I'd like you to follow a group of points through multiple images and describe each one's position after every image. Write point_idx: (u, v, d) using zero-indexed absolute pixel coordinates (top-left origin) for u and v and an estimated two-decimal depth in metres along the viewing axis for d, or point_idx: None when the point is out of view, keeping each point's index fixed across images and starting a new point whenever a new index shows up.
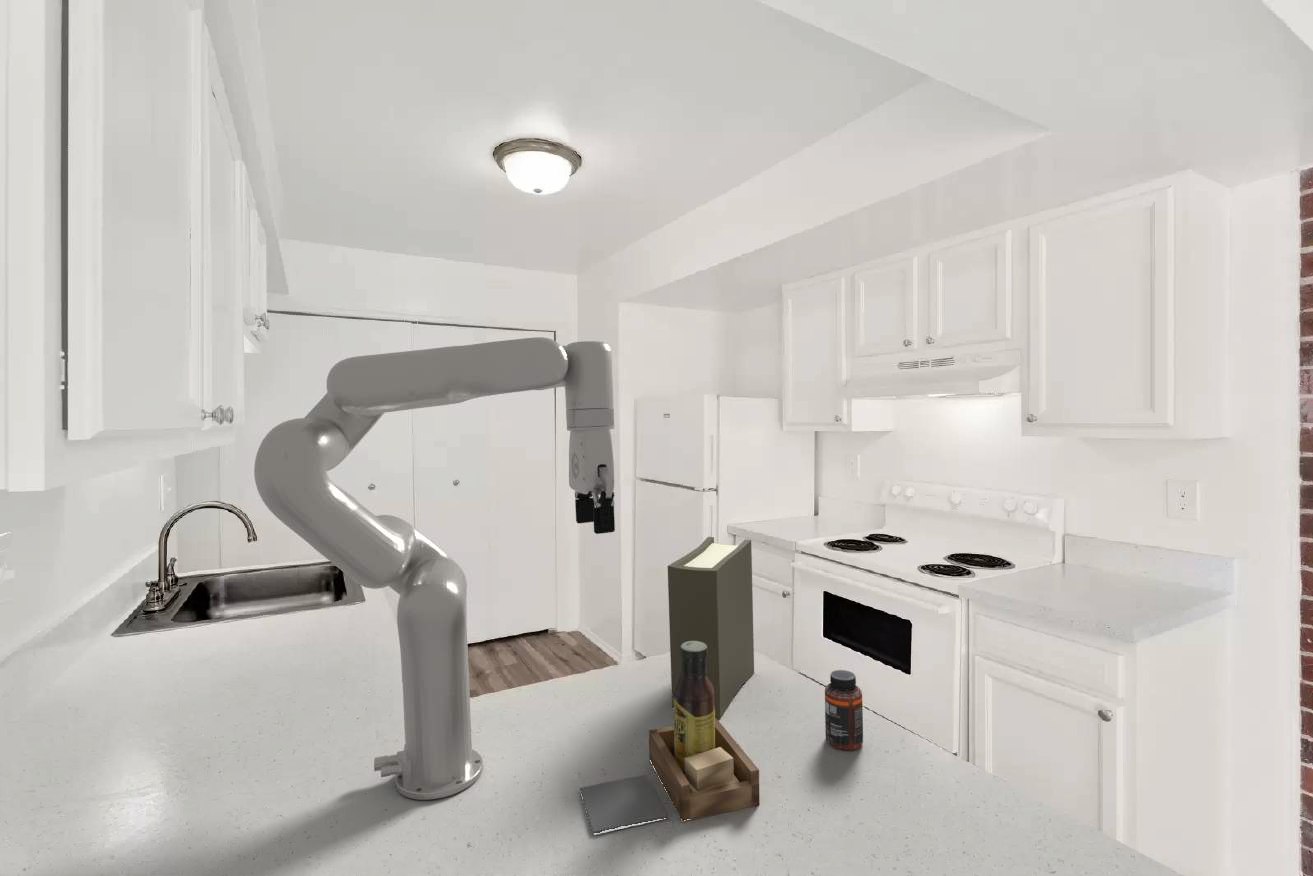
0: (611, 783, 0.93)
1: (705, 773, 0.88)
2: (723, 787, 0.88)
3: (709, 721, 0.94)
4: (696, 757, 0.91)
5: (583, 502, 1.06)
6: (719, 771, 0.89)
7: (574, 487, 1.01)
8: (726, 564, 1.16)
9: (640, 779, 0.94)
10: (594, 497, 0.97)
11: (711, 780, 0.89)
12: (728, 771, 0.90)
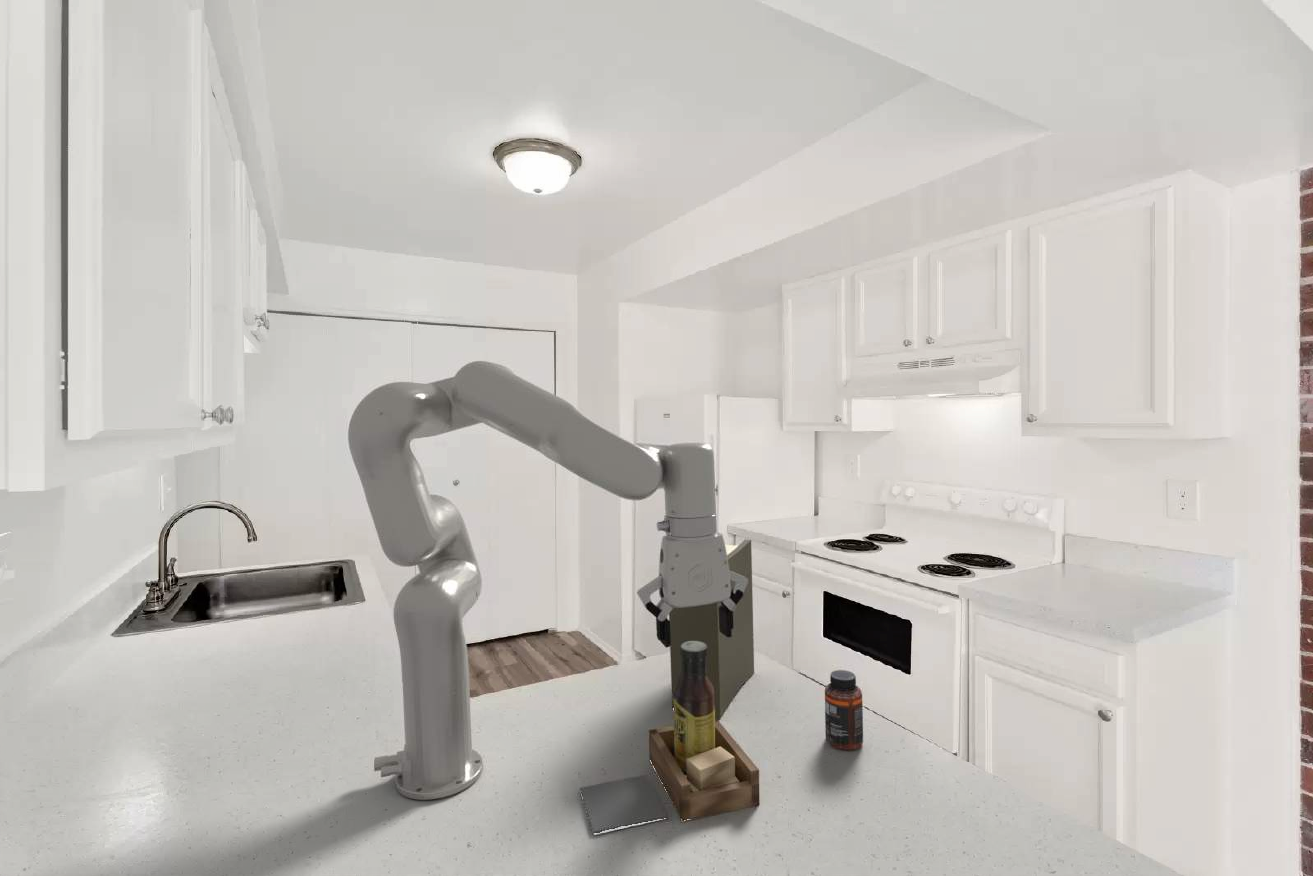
0: (611, 783, 0.93)
1: (708, 773, 0.88)
2: (723, 787, 0.88)
3: (709, 721, 0.94)
4: (697, 757, 0.91)
5: None
6: (721, 770, 0.89)
7: (695, 602, 0.92)
8: None
9: (640, 779, 0.94)
10: (728, 600, 0.95)
11: (713, 780, 0.89)
12: (730, 770, 0.90)
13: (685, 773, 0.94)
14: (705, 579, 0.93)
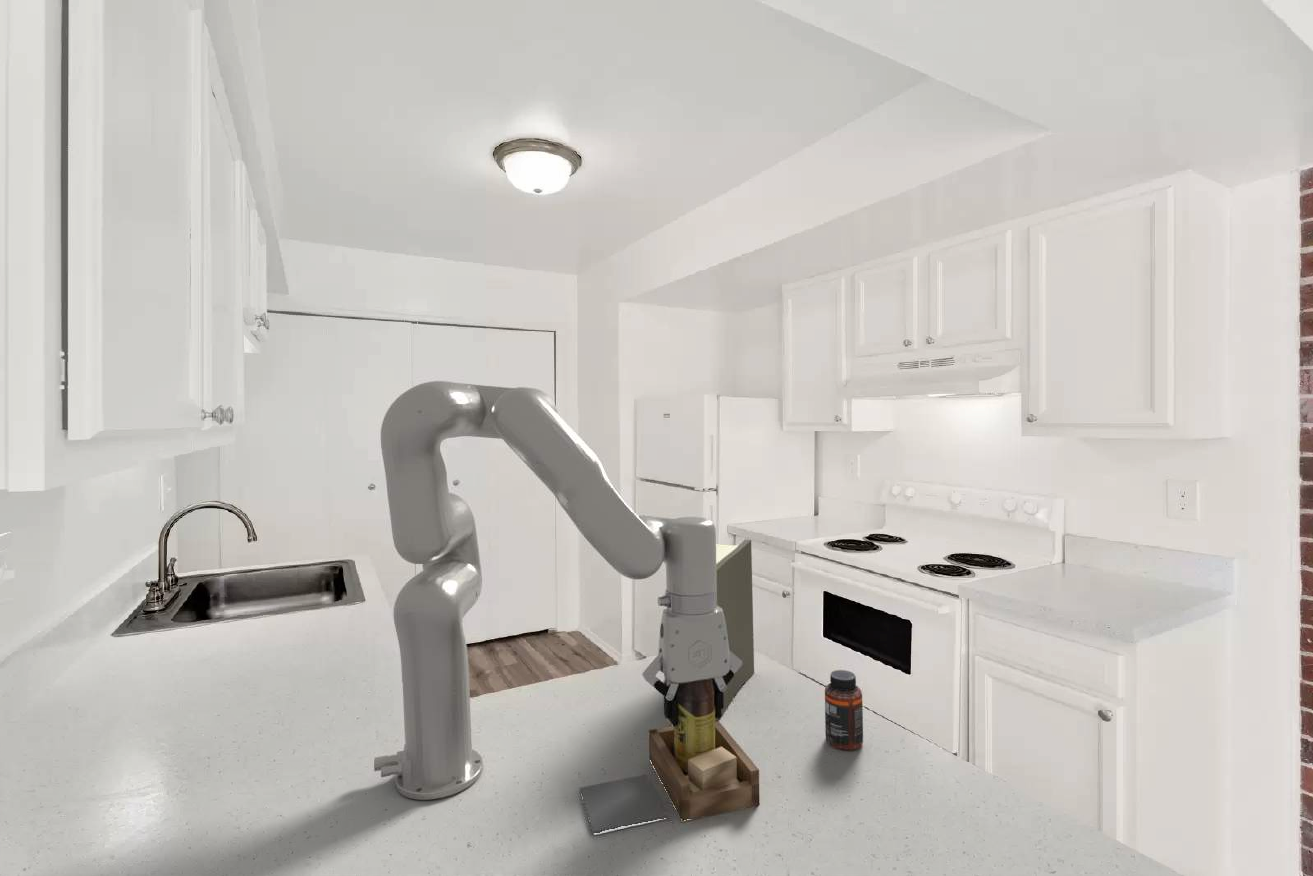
0: (611, 783, 0.93)
1: (710, 773, 0.88)
2: (723, 787, 0.88)
3: (709, 721, 0.94)
4: (699, 758, 0.90)
5: None
6: (723, 771, 0.89)
7: (694, 678, 0.93)
8: (726, 564, 1.16)
9: (640, 779, 0.94)
10: (720, 680, 0.96)
11: (715, 780, 0.89)
12: (731, 770, 0.90)
13: (685, 773, 0.94)
14: (704, 655, 0.93)
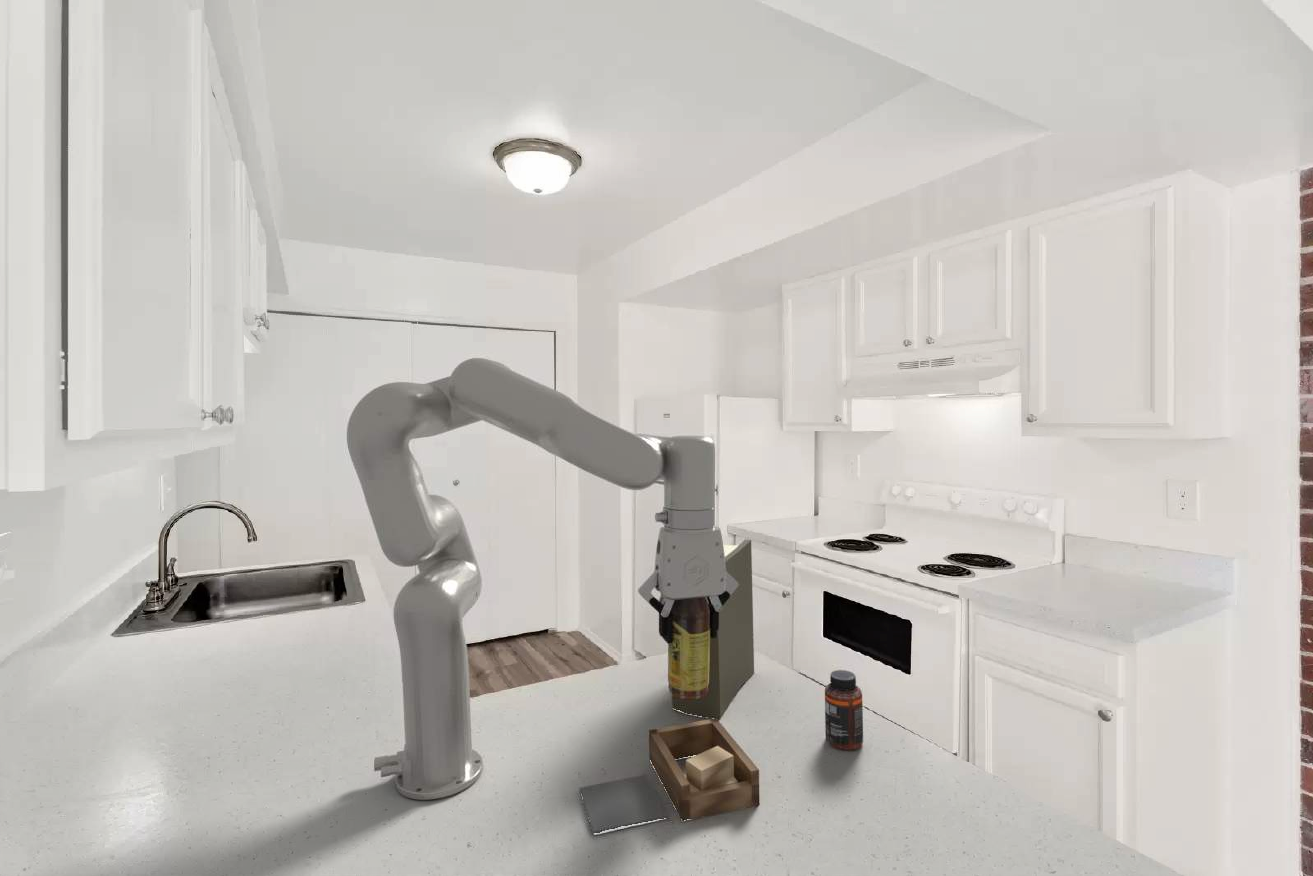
0: (611, 783, 0.93)
1: (709, 773, 0.88)
2: (723, 787, 0.88)
3: (704, 640, 0.93)
4: (697, 758, 0.90)
5: None
6: (721, 770, 0.89)
7: (690, 595, 0.92)
8: (726, 564, 1.16)
9: (640, 779, 0.94)
10: (716, 600, 0.95)
11: (714, 780, 0.89)
12: (729, 769, 0.90)
13: (678, 691, 0.94)
14: (701, 572, 0.93)
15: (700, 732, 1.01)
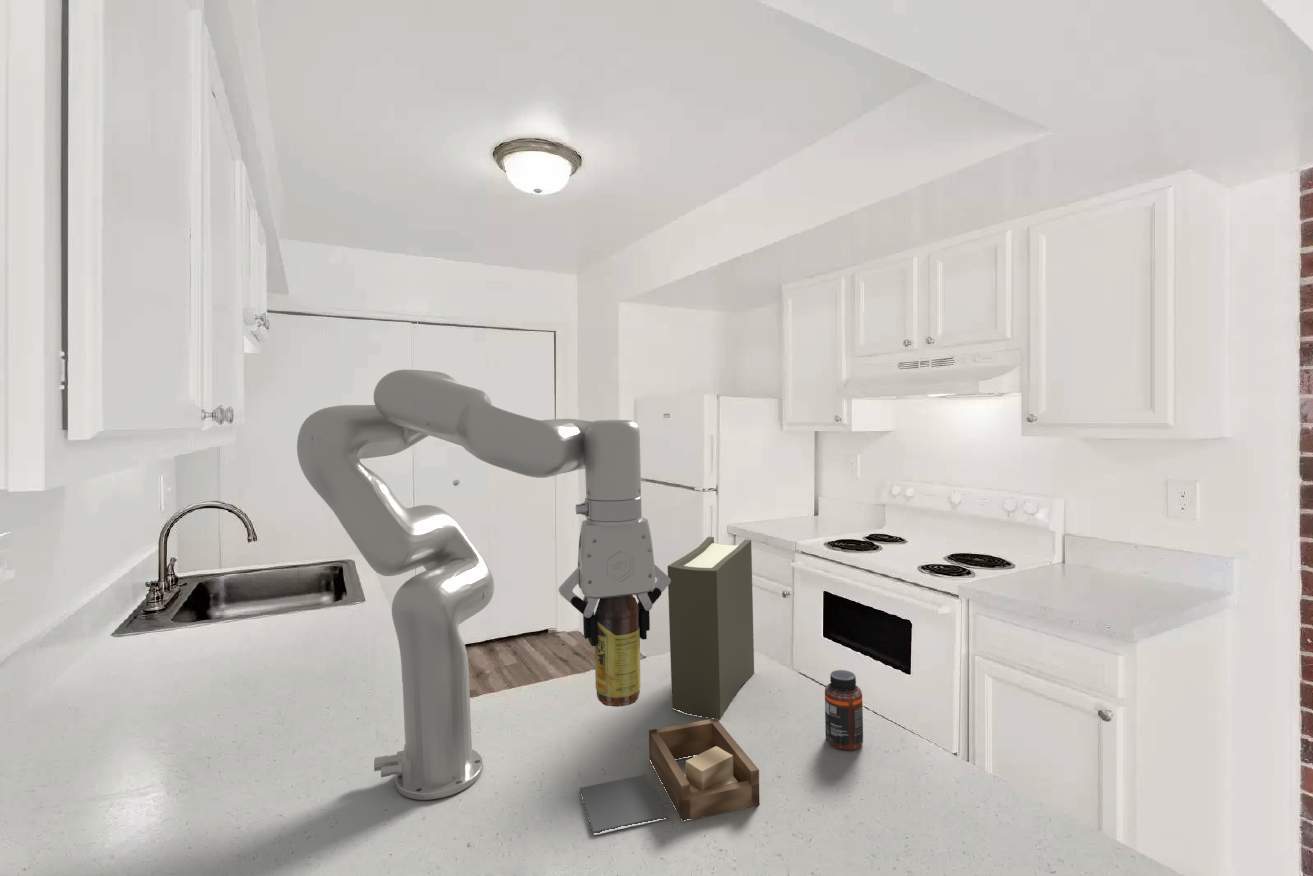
0: (611, 783, 0.93)
1: (709, 773, 0.88)
2: (723, 787, 0.88)
3: (631, 641, 0.86)
4: (696, 758, 0.90)
5: None
6: (720, 770, 0.89)
7: (614, 593, 0.85)
8: (726, 564, 1.16)
9: (640, 779, 0.94)
10: (645, 598, 0.88)
11: (714, 780, 0.89)
12: (728, 769, 0.91)
13: (605, 698, 0.86)
14: (626, 568, 0.85)
15: (700, 732, 1.01)
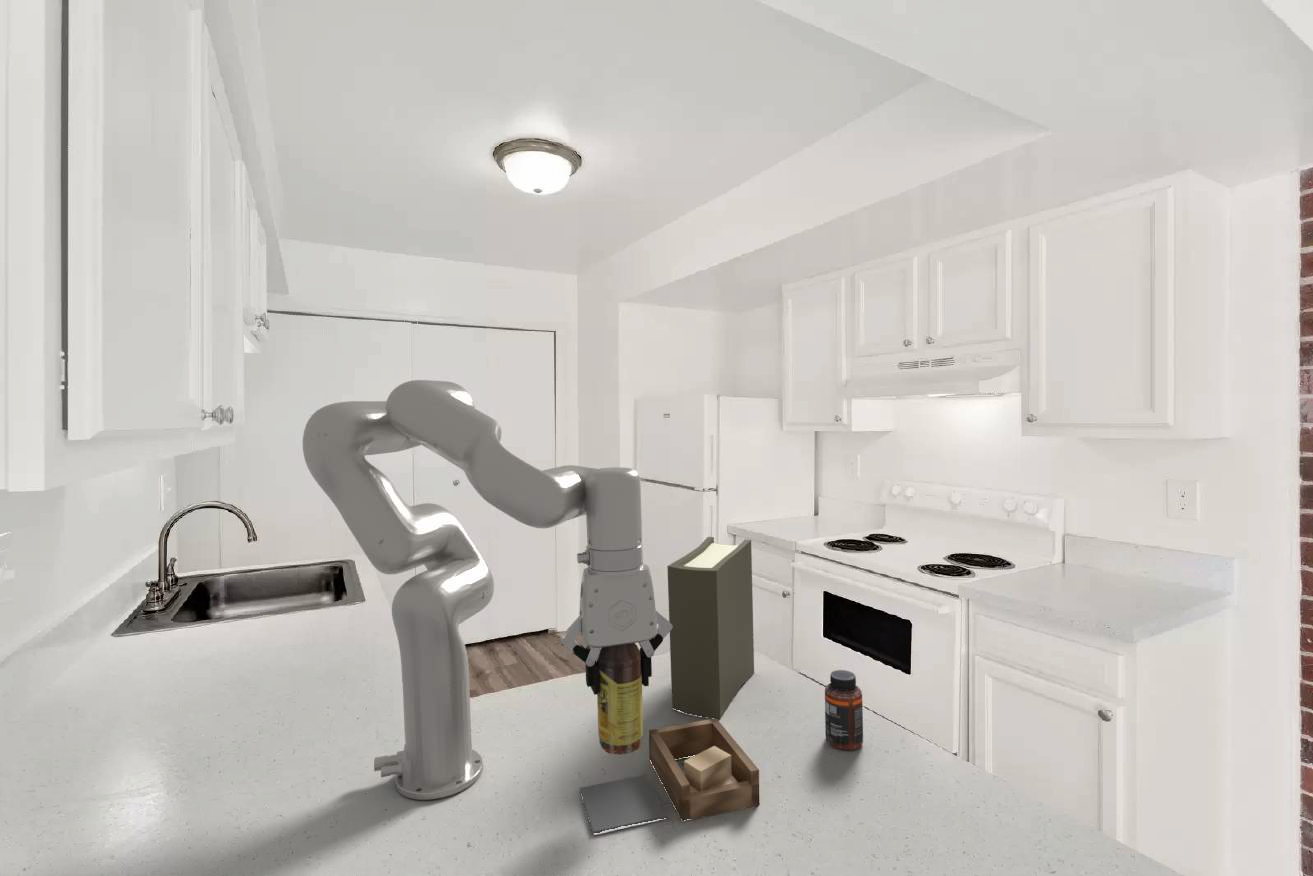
0: (611, 783, 0.93)
1: (707, 773, 0.88)
2: (723, 787, 0.88)
3: (633, 689, 0.86)
4: (695, 758, 0.90)
5: None
6: (719, 770, 0.90)
7: (616, 641, 0.85)
8: (726, 564, 1.16)
9: (640, 779, 0.94)
10: (647, 645, 0.88)
11: (712, 780, 0.89)
12: (727, 769, 0.91)
13: (608, 746, 0.86)
14: (628, 616, 0.85)
15: (700, 732, 1.01)
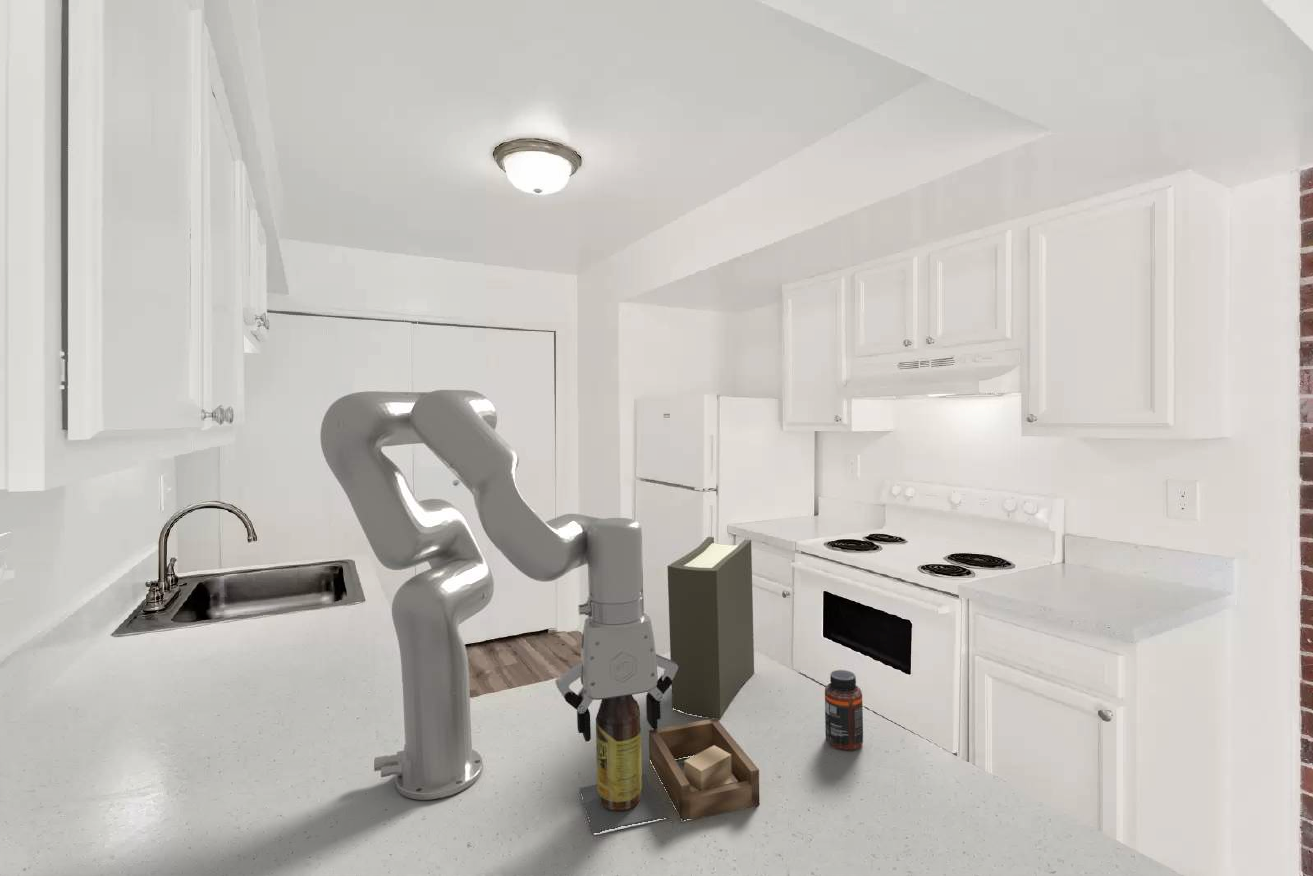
0: None
1: (708, 773, 0.88)
2: (723, 787, 0.88)
3: (633, 746, 0.86)
4: (695, 758, 0.90)
5: None
6: (719, 769, 0.90)
7: (617, 693, 0.85)
8: (726, 564, 1.16)
9: None
10: (654, 689, 0.89)
11: (713, 779, 0.89)
12: (727, 768, 0.91)
13: (607, 802, 0.87)
14: (628, 668, 0.86)
15: (700, 732, 1.01)
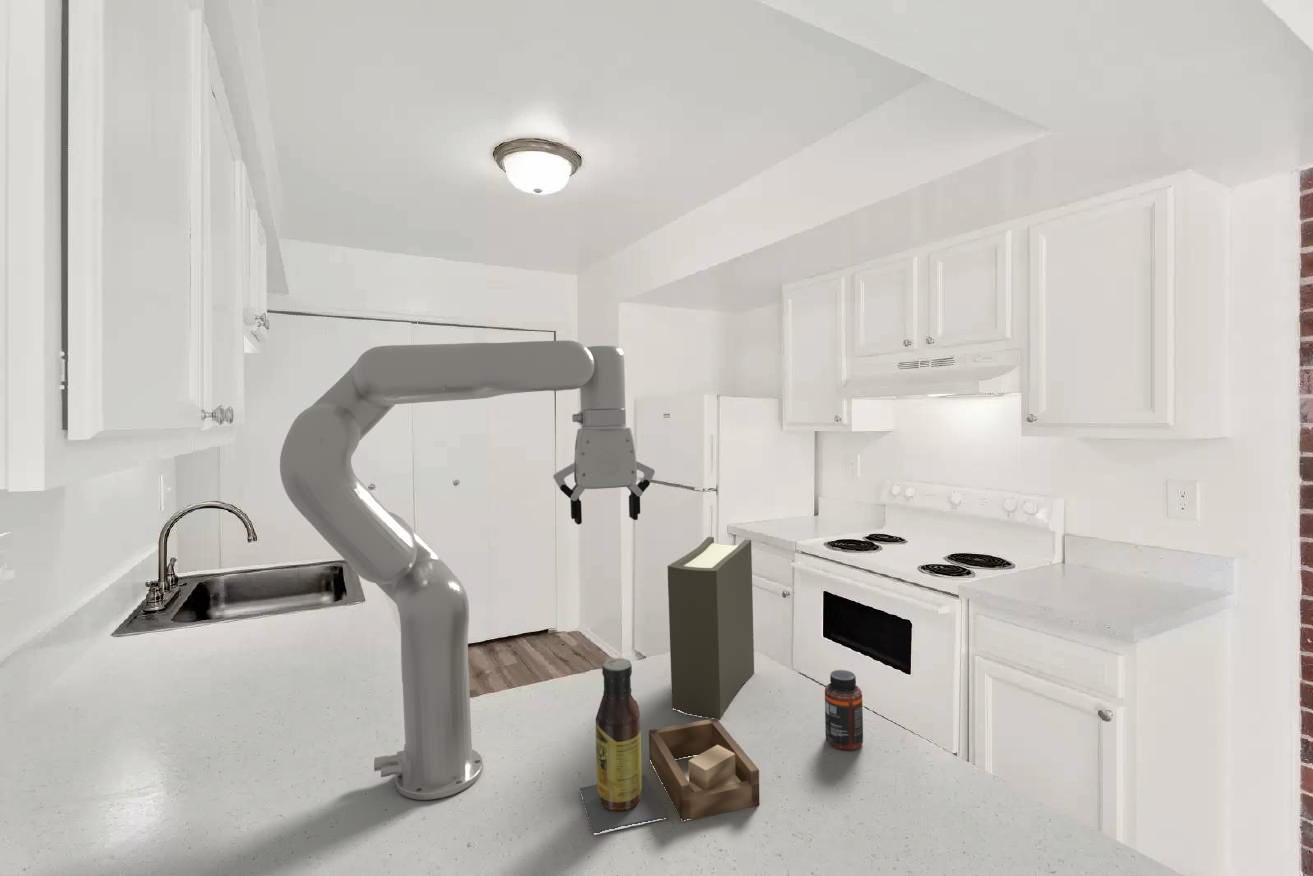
0: None
1: (712, 772, 0.88)
2: (723, 787, 0.88)
3: (632, 746, 0.86)
4: (699, 758, 0.91)
5: None
6: (723, 768, 0.90)
7: (603, 484, 1.05)
8: (726, 564, 1.16)
9: None
10: (635, 487, 1.08)
11: (717, 779, 0.89)
12: (731, 767, 0.91)
13: (607, 802, 0.87)
14: (613, 465, 1.05)
15: (700, 732, 1.01)
